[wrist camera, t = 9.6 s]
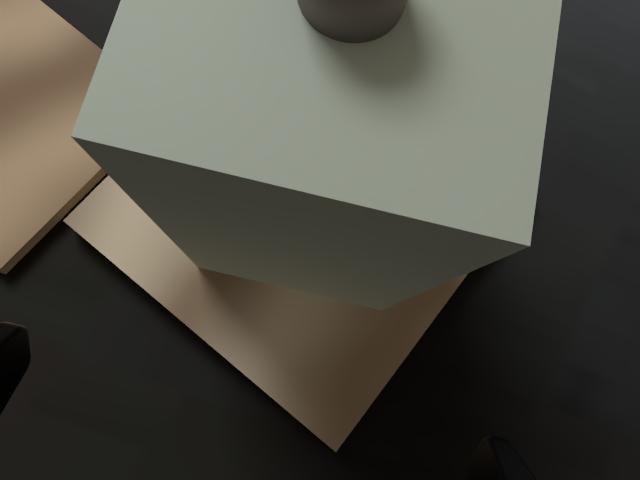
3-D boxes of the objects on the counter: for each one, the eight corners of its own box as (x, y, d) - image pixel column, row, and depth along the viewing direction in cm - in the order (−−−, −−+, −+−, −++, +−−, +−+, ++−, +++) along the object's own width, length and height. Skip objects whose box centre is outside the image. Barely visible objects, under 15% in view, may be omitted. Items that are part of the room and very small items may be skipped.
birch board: (523, 191, 21) (534, 183, 20) (333, 447, 19) (335, 452, 18) (287, 10, 22) (288, -5, 22) (74, 227, 20) (62, 220, 19)
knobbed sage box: (380, 310, 19) (575, 226, 6) (198, 267, 19) (31, 96, 6) (414, 141, 20) (620, -190, 8) (246, 100, 20) (189, -302, 8)
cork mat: (170, 109, 21) (167, 102, 20) (6, 274, 19) (-3, 271, 18) (13, -17, 22) (6, -27, 21) (-160, 129, 20) (-174, 122, 19)
